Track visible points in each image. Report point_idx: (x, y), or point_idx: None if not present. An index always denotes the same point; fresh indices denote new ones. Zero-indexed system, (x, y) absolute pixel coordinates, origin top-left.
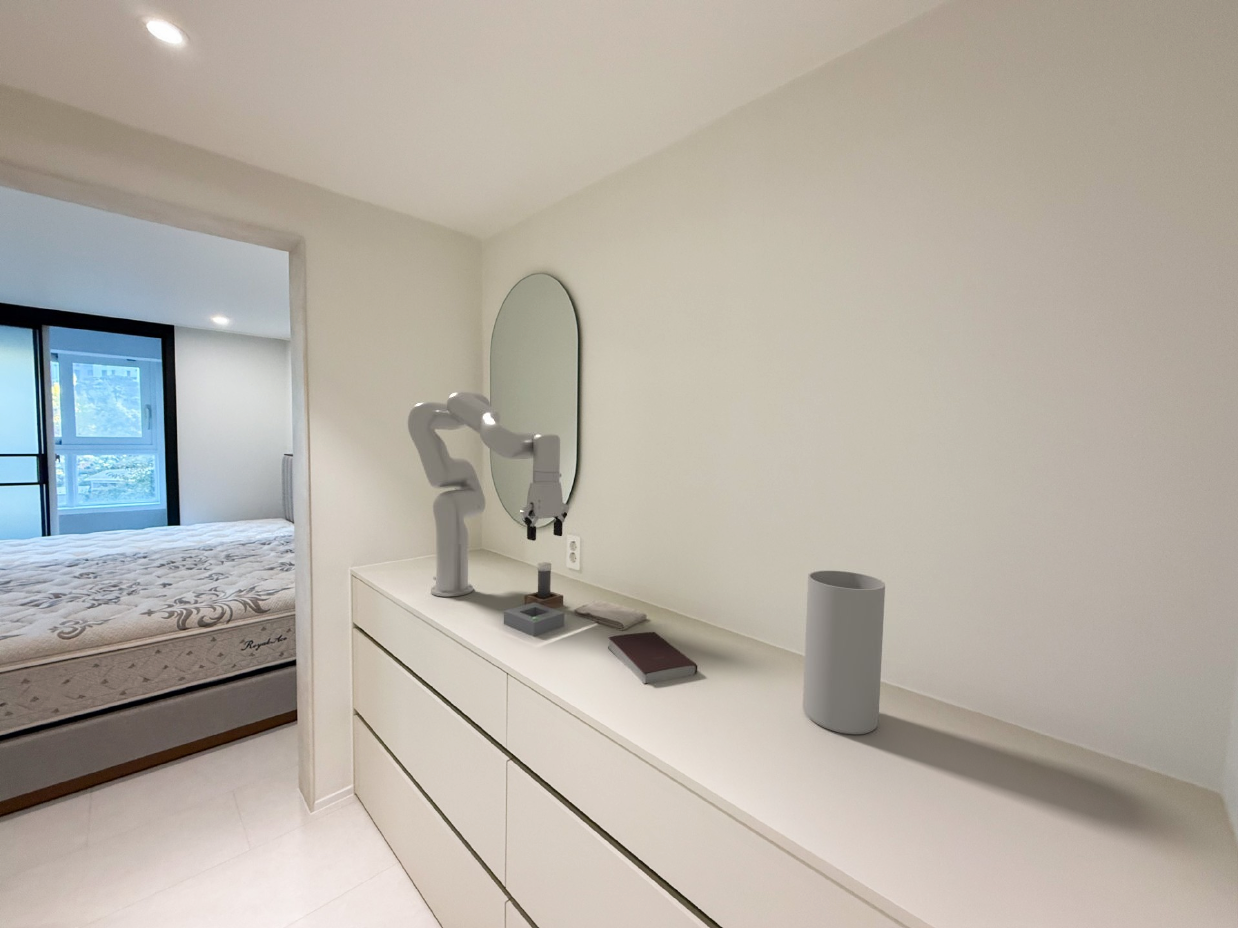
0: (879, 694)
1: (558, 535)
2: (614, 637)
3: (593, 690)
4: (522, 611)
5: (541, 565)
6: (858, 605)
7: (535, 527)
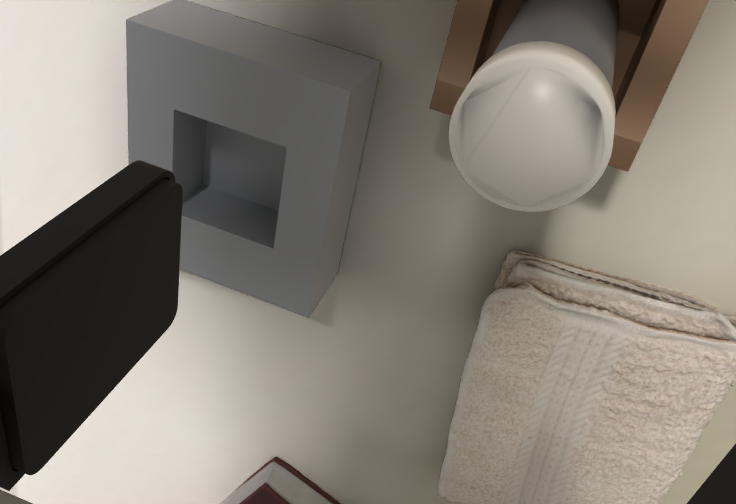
0: None
1: (696, 493)
2: (269, 501)
3: (73, 464)
4: (199, 115)
5: (456, 141)
6: None
7: (12, 469)
